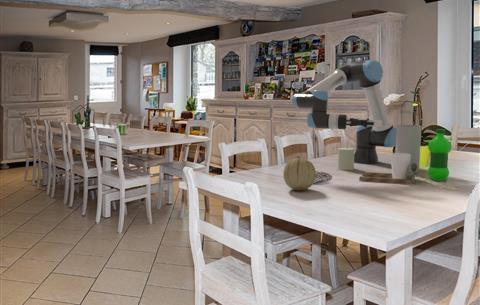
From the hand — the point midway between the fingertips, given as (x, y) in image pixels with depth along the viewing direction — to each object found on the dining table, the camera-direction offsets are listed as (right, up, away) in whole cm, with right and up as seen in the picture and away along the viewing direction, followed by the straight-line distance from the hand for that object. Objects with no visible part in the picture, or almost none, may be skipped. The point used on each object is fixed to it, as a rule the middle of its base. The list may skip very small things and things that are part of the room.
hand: (381, 123), depth 223 cm
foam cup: (+9, -28, 0) cm, 30 cm away
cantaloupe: (-43, -31, -19) cm, 57 cm away
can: (-10, -24, +33) cm, 42 cm away
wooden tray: (+4, -28, +2) cm, 28 cm away
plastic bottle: (+28, -28, +1) cm, 40 cm away
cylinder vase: (+21, -25, +23) cm, 40 cm away
